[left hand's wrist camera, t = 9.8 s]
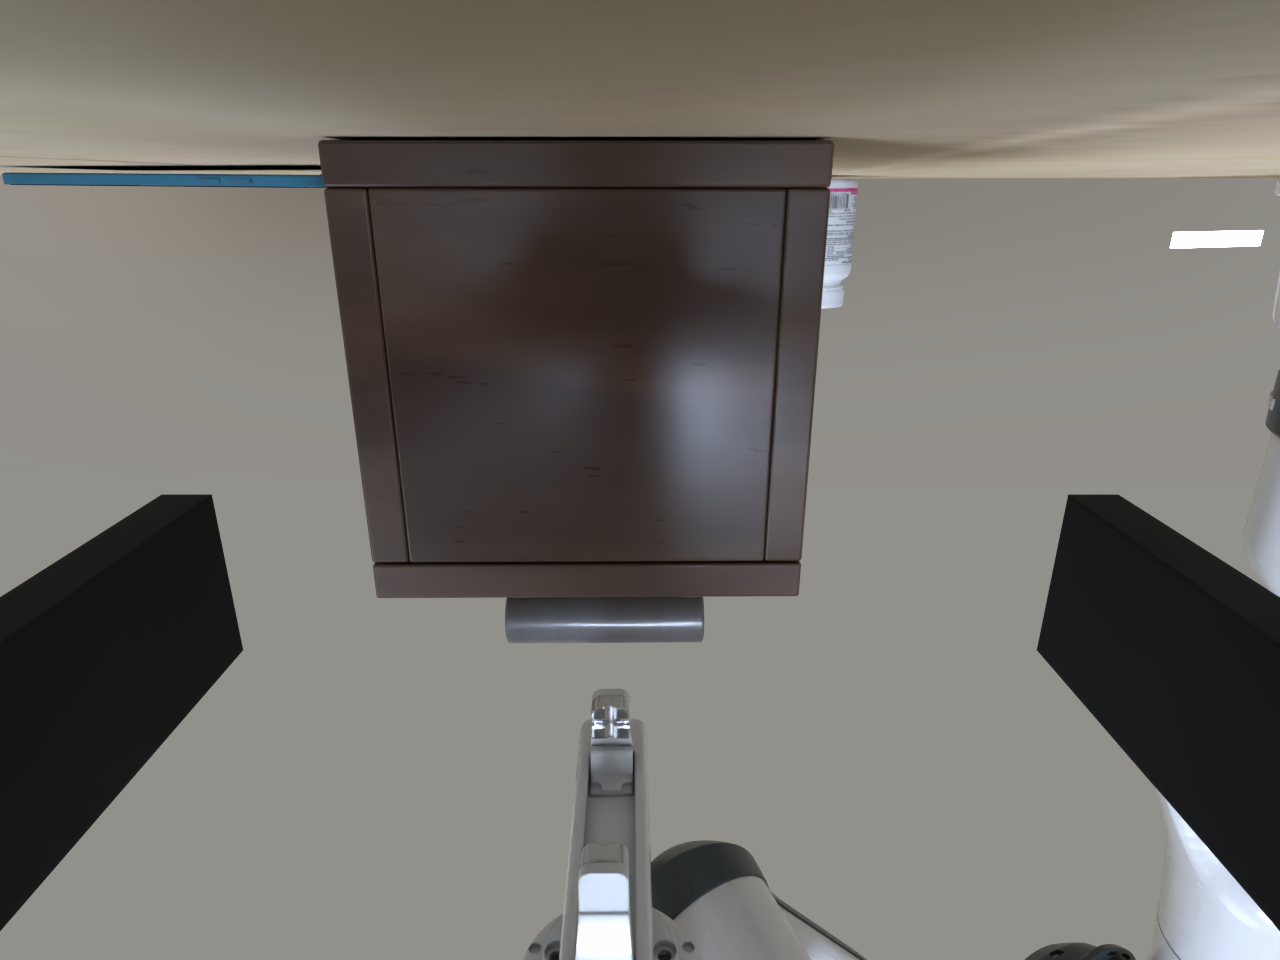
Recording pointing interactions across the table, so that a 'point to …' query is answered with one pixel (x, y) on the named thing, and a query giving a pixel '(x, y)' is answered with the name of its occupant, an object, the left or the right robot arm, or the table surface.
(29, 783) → the left robot arm
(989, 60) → the table surface
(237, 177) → the smartphone
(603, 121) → the table surface
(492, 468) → the chest
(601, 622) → the lid
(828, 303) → the pill bottle
